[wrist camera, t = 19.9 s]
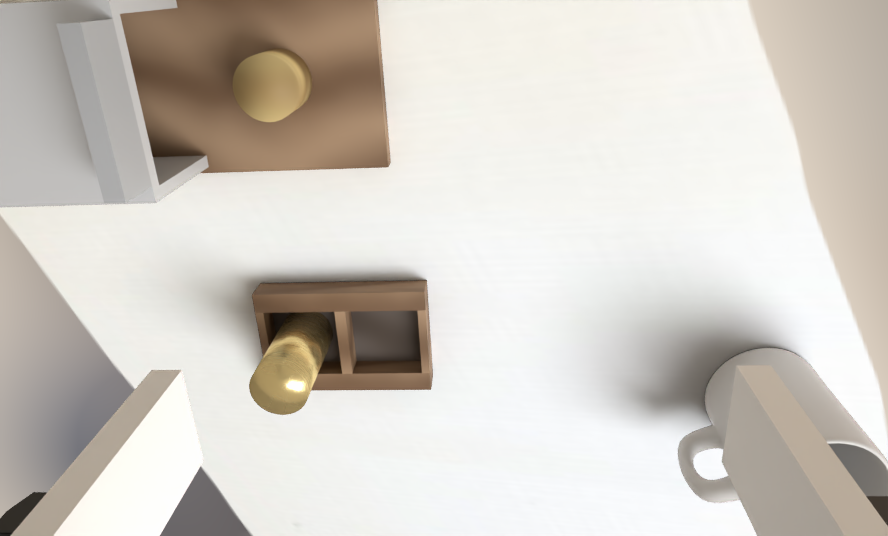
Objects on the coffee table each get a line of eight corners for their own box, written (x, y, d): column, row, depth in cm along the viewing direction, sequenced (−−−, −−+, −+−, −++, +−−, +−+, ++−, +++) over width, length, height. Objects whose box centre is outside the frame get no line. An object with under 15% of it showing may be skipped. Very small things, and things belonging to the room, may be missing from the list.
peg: (279, 309, 51) (244, 365, 44) (330, 308, 51) (303, 364, 43) (286, 353, 53) (254, 414, 45) (336, 353, 52) (311, 414, 45)
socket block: (260, 283, 51) (251, 294, 49) (426, 280, 50) (424, 291, 48) (276, 376, 54) (269, 390, 52) (432, 375, 53) (430, 389, 51)
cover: (22, 2, 42) (-124, 10, 32) (174, -6, 41) (74, -1, 31) (70, 171, 46) (-45, 225, 36) (208, 166, 45) (130, 220, 35)
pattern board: (69, -9, 43) (22, -8, 38) (375, -26, 41) (361, -26, 37) (115, 171, 48) (78, 190, 43) (390, 162, 46) (380, 181, 42)
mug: (804, 331, 49) (885, 422, 39) (825, 419, 52) (905, 524, 42) (647, 379, 52) (684, 476, 42) (676, 460, 55) (718, 568, 45)
